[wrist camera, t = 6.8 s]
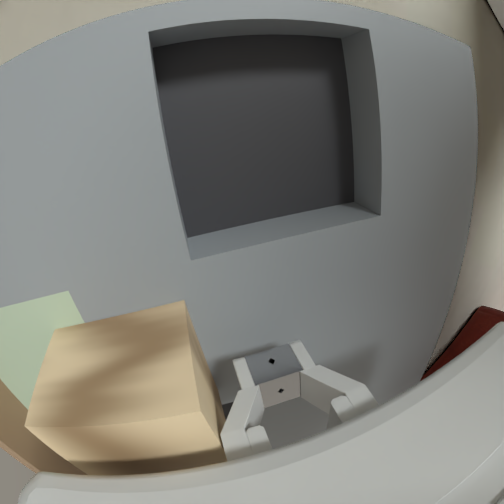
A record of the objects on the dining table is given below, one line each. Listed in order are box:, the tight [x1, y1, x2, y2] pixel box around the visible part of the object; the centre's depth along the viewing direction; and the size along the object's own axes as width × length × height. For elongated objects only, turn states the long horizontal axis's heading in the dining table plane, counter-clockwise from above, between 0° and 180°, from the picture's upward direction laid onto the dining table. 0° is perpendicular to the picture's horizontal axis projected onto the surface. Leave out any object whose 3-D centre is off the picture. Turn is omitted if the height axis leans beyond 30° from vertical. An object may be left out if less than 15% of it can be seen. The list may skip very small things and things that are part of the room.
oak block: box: [25, 300, 227, 475], centre depth 9 cm, size 6×6×5 cm
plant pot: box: [420, 306, 504, 381], centre depth 21 cm, size 19×19×17 cm
